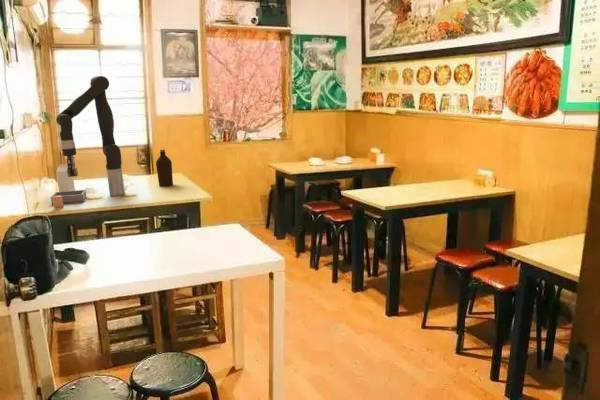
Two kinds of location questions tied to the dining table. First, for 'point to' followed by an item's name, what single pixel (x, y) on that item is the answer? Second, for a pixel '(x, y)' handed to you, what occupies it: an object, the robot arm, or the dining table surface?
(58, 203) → the terracotta cylinder
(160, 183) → the olive oil
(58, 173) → the milk carton
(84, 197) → the tote
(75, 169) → the walnut cube
